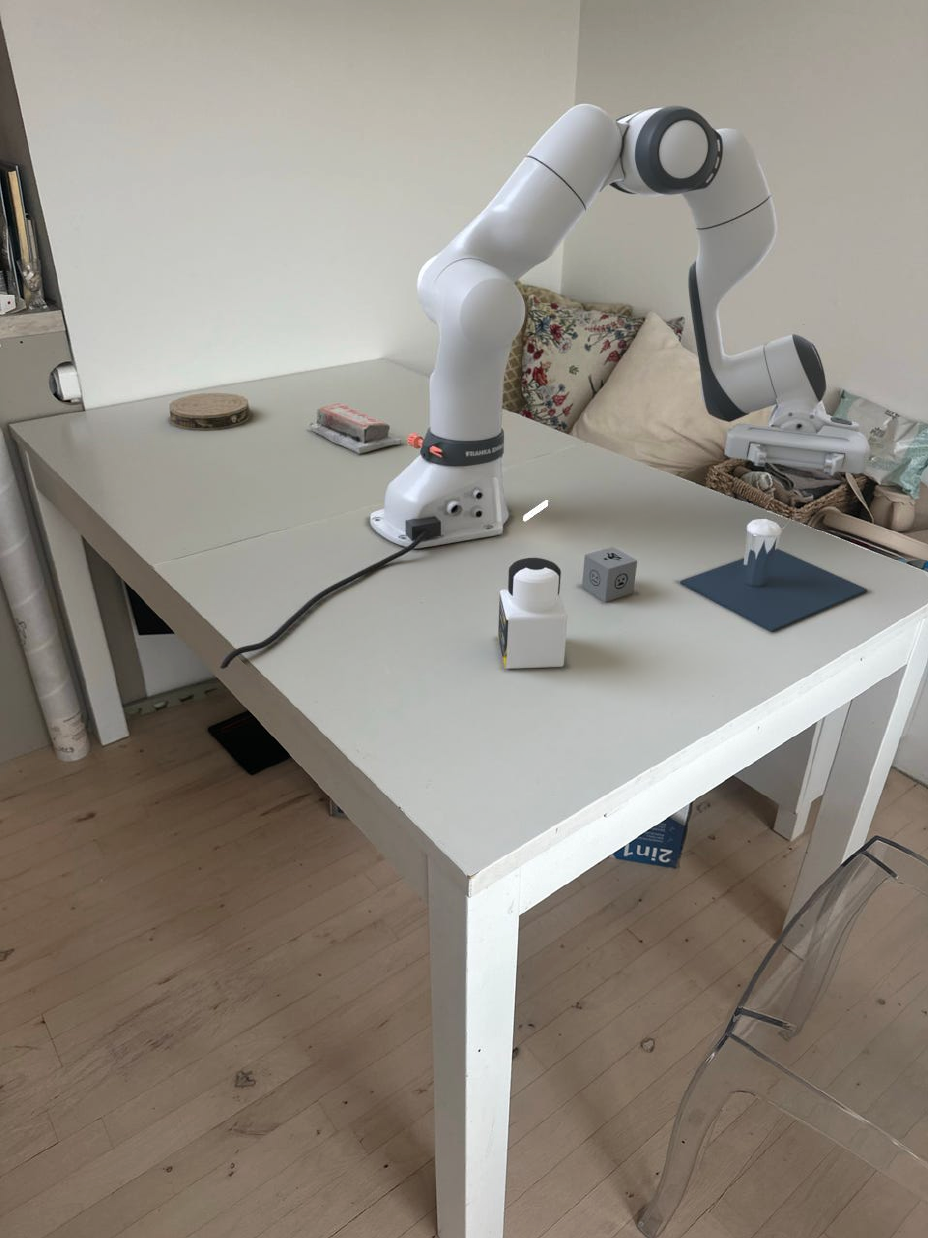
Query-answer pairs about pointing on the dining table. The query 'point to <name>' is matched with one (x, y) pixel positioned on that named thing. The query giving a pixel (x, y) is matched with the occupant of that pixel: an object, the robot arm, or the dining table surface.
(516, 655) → the medicine bottle
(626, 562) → the dice cube
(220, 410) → the round wood slice
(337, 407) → the packaged product
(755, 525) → the milkshake
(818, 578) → the mat
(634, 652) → the dining table surface
